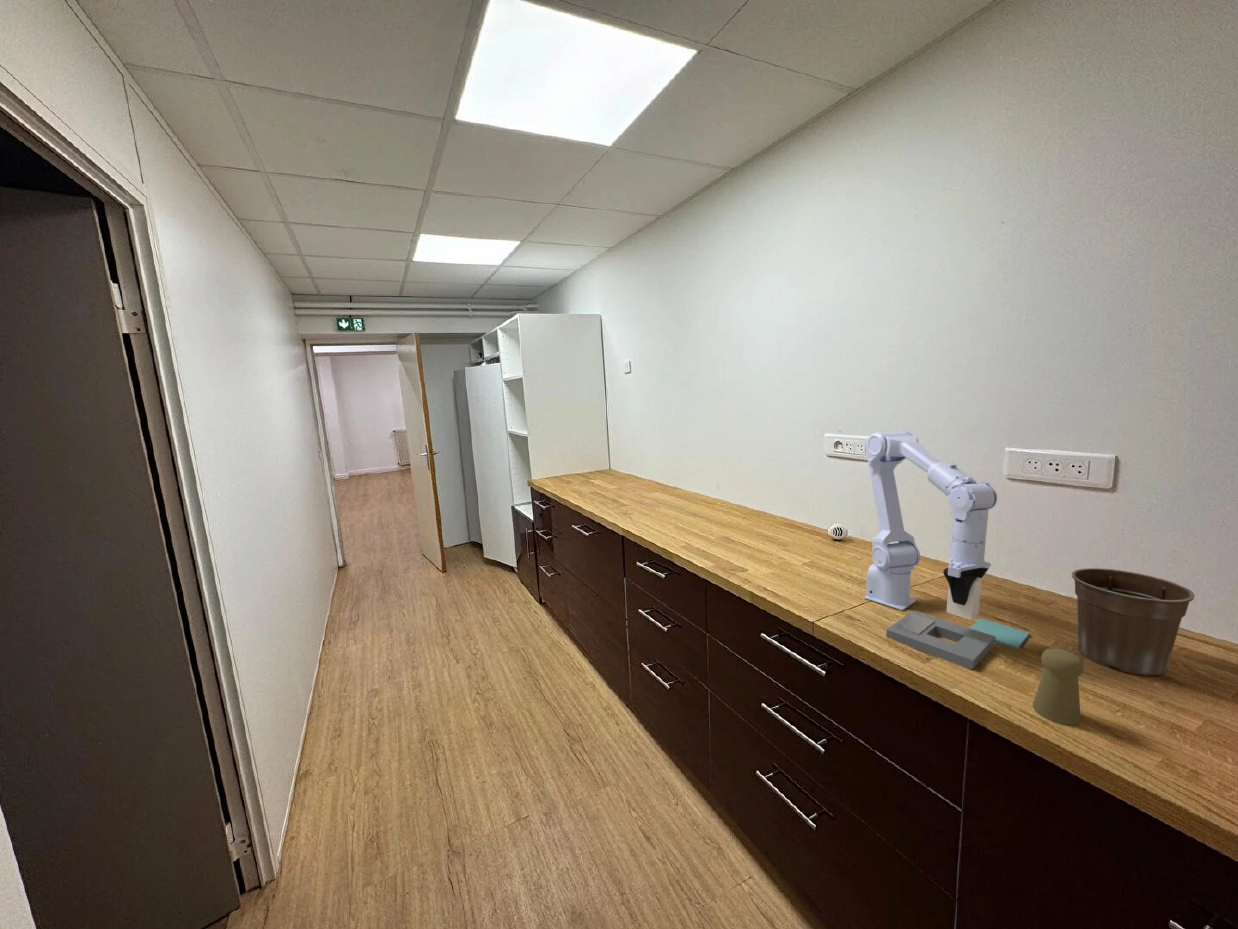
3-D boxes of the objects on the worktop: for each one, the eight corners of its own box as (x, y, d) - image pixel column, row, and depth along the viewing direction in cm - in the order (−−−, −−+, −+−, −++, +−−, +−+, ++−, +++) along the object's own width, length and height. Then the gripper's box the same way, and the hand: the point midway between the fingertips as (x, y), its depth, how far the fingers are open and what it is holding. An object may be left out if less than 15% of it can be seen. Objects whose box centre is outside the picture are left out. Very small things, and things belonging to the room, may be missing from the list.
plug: (946, 612, 102) (949, 577, 101) (954, 606, 105) (957, 572, 104) (971, 619, 99) (974, 583, 97) (978, 613, 101) (981, 578, 100)
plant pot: (1042, 638, 102) (1050, 567, 100) (1118, 637, 102) (1128, 566, 99) (1118, 684, 86) (1129, 601, 84) (1209, 683, 86) (1224, 600, 83)
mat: (966, 632, 106) (966, 630, 106) (980, 620, 111) (980, 618, 111) (1017, 649, 99) (1017, 647, 98) (1029, 635, 104) (1029, 632, 104)
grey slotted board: (886, 638, 105) (886, 628, 104) (912, 618, 113) (913, 609, 113) (972, 670, 92) (973, 659, 92) (994, 645, 100) (995, 635, 100)
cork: (1086, 730, 75) (1094, 667, 74) (1036, 718, 78) (1043, 657, 77) (1075, 708, 80) (1082, 649, 79) (1029, 697, 84) (1035, 640, 82)
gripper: (979, 551, 92) (973, 617, 94) (1003, 536, 100) (997, 596, 102) (938, 543, 97) (933, 605, 99) (964, 529, 106) (959, 586, 108)
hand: (963, 600), depth 101 cm, fingers closed on plug, 4 cm apart
